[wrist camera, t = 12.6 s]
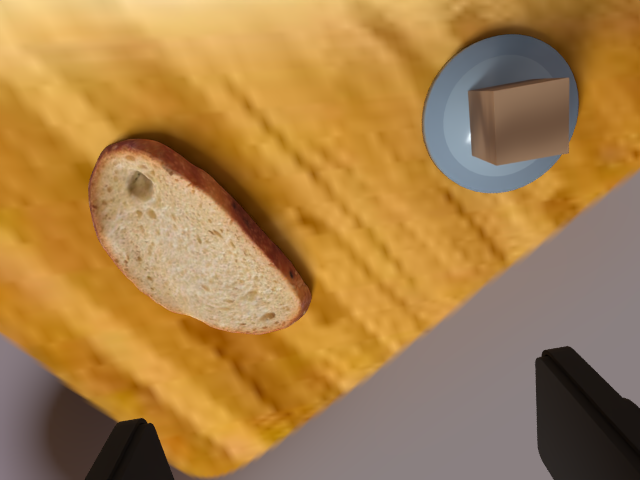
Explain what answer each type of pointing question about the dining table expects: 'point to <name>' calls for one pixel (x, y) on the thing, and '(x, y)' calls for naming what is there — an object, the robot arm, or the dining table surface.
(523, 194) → the dining table surface
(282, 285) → the bread slice
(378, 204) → the dining table surface
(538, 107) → the block
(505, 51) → the dish
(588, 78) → the dining table surface
